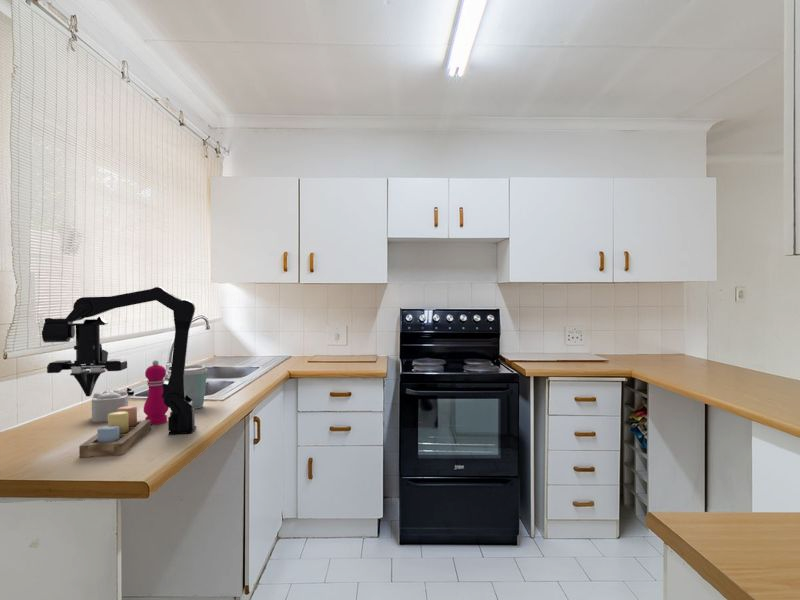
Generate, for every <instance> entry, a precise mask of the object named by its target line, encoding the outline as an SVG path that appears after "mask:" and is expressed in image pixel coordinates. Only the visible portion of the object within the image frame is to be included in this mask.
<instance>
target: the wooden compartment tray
mask: <svg viewBox="0 0 800 600" xmlns="http://www.w3.org/2000/svg"><path fill="white" fill-rule="evenodd" d="M151 430H152V425H151V420H145V419H137V425H134V426H130V427H129V431H127V432H125V433H120V434H119V440H118V441H117V442H100V443H98V435H97V433H96V434H94V435H93V436H91V437H90V438H89V439H87V440H86V441H84V442H82V443H81V444H80V445H79V446H78V447H79V451H78V453H79V454H78V455H79V458H80V457H81V458H91V457H90V456H98V457H107V456H106V455H114V456H123V455H124V454H125V453H127V451H128V450H130V449H131V448H132V447H134V445H136V443H138V442H139V441H140V440H141V439H142V438H143V437H144V436H145V435H147V434H146V433H147V432H148V431H149V432H150V431H151ZM149 432H148V433H149ZM137 441H138V442H137ZM122 454H123V455H122Z"/></svg>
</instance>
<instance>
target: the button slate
mask: <svg viewBox="0 0 800 600" xmlns="http://www.w3.org/2000/svg"><path fill="white" fill-rule="evenodd" d="M96 430H97V433H96V434H97V435H98V443H100V442H117V441H118V440H119V426H108V425H106V426H102V427H99V428H98V429H96Z"/></svg>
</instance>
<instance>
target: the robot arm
mask: <svg viewBox="0 0 800 600" xmlns="http://www.w3.org/2000/svg"><path fill="white" fill-rule="evenodd" d="M154 301H157V302H158V303H160V304H161V305H163V306H165V307H166V308H168V309H170V310H171V311H172V313H173V323H174V329H175V330H174V332H175V333H174V340H173V341H174V342H173V349H172V359H171V367H170V376H169V378H168V380H165V379H164V383H163V394H162V396H161V398H163V397H164V399H163V400H164V404H165V405H166V406H167V407H168V409H170V411H169V416H167V423H168V424H167V427H168V435H177V434H178V435H179V434H181V435H182V434H192V433H193V432H194V431H195V430H196V428H197V425H195V423H196V421H195V417H196V415H195V411H196V410H195V409H192V405H193V400H192V399H191V398H190V397H189V396H187V395H186V388H185V379H184V371H185V366H186V358H187V352H188V351H187V349H188V342H189V332H190V329H191V325H192V322H193V318H194V315H195V312H196V306H195V304H194V303H193V301H191V300H189V299H181V298H179V297H178V296H176V295H174V294H172V293H171V292H169V291H168V290H166V289H164V287H160V286H155V287H152V288H149V289H144V290H139V291H138V290H137V291H134V292H133V291H132V292H126V293H121V294H116V295H111V296H108V295H107V296H84V297H80V298H78V299H76V301H75V302H74V303H73V307H72V308H73V309H72V310H71V312H70V313H68V315H67V316H66V317H65V318H62V317H61V318H55V317H46V318H44V323H43V325H42V330H41V337H42V342H43V343H48V344H49V343H69V342H70V341H71V339H74V338H75V345H73V350H74V351H75V360H73V362H72V360H71V359H70V360H56V361H52V362H49V363H48V364H47V366H46V373H47V374H57V373H58V374H60V373H61V372H62V371H68V370H69V371H70V370H71V371H70V372H71V373H70V374H69V375H70V376H73V377H74V379H75V380H76V381H77V382H78V384H79V386H80V388H81V389H82V391H83V393H84V395H85V397H92V395H93V392H94V388H95V386H96V384H97V381H98V379H99V378H100V377H101V374H103V373H106V372H119V371H124V370H126V369H127V368H128V362H127V360H126V358H112V359H109V360H108V357H109V352H108V351H107V350H105V349H103V346H102V343H101V341H100V339H101V338H100V337H101V335H100V327H101V326H105V325H108V321H107V320H105V319H104V318H103V317H102V316H98V315H101V314H103V313H106V312H108V311H111V310H115V309H117V308H124V307H129V306H134V305H138V304H139V305H140V304H144V303H148V302H149V303H151V302H154ZM95 316H98V317H97V318H96V319H95V318H93V319H90V318H92V317H95ZM85 318H89V319H85ZM82 320H83V322H80V323H79V321H82ZM74 322H76V323H74Z"/></svg>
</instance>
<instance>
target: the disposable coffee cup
mask: <svg viewBox="0 0 800 600" xmlns="http://www.w3.org/2000/svg"><path fill="white" fill-rule="evenodd" d="M208 371H209V370H208V367H207V365H205V364H189V365H185V371H184V379H185V388H186V395H187V396H189V397H190V398H191V399H192V400H193V405H192V409H194V410H196V409H200V408H202V407H203V405H204V402H205V394H206V385H207V376H208Z"/></svg>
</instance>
